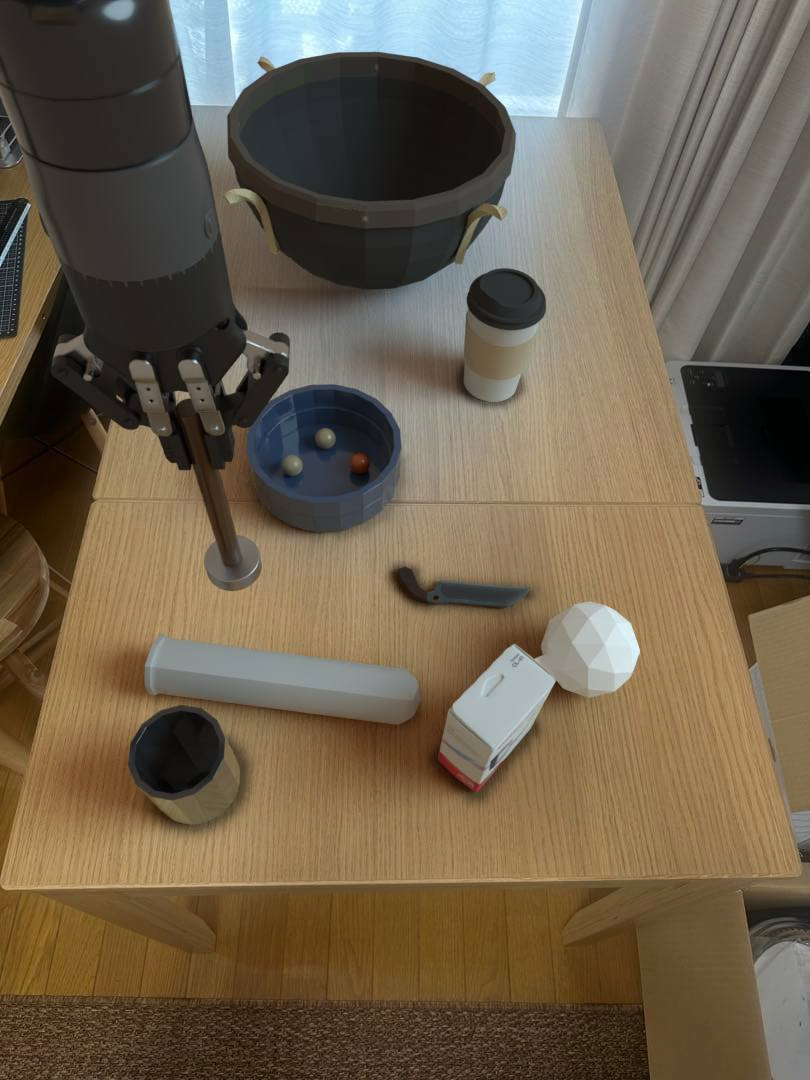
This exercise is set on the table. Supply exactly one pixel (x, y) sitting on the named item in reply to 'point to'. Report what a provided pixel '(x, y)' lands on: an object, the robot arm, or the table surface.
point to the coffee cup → (500, 331)
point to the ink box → (493, 716)
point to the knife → (462, 592)
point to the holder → (184, 764)
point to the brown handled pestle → (217, 512)
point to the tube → (280, 681)
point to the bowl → (370, 164)
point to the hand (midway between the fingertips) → (203, 459)
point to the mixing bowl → (324, 457)
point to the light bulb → (589, 649)
